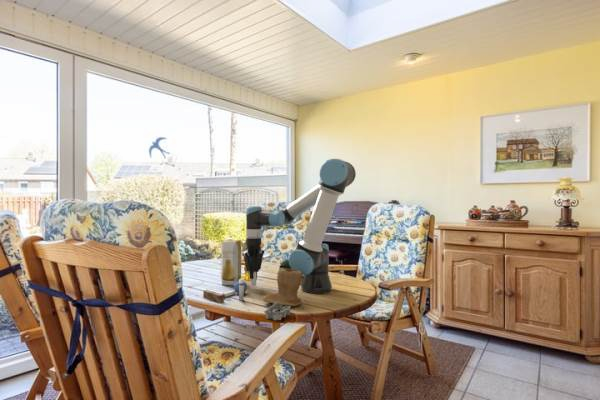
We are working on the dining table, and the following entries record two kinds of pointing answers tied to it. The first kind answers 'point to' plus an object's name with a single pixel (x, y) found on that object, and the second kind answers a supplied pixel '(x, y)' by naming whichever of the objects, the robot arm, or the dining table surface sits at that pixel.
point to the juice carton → (230, 261)
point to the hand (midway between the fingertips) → (253, 285)
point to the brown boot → (286, 288)
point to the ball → (236, 287)
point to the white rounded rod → (241, 289)
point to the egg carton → (274, 313)
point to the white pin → (229, 293)
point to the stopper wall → (213, 296)
